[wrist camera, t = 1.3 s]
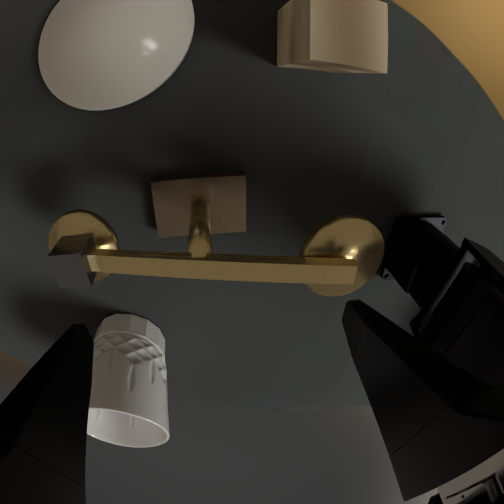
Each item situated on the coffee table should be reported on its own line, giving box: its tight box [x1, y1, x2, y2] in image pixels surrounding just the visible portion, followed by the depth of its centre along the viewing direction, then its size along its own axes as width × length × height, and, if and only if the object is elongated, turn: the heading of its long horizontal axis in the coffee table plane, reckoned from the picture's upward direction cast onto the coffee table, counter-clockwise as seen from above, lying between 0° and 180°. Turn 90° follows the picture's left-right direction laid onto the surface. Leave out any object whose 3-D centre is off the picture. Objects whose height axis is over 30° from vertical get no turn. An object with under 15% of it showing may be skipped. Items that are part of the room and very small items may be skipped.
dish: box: [38, 0, 195, 111], centre depth 12 cm, size 10×10×1 cm
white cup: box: [87, 314, 169, 447], centre depth 21 cm, size 8×8×10 cm
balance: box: [48, 171, 384, 297], centre depth 15 cm, size 18×4×9 cm, turn 89°
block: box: [277, 0, 388, 74], centre depth 12 cm, size 4×4×6 cm
